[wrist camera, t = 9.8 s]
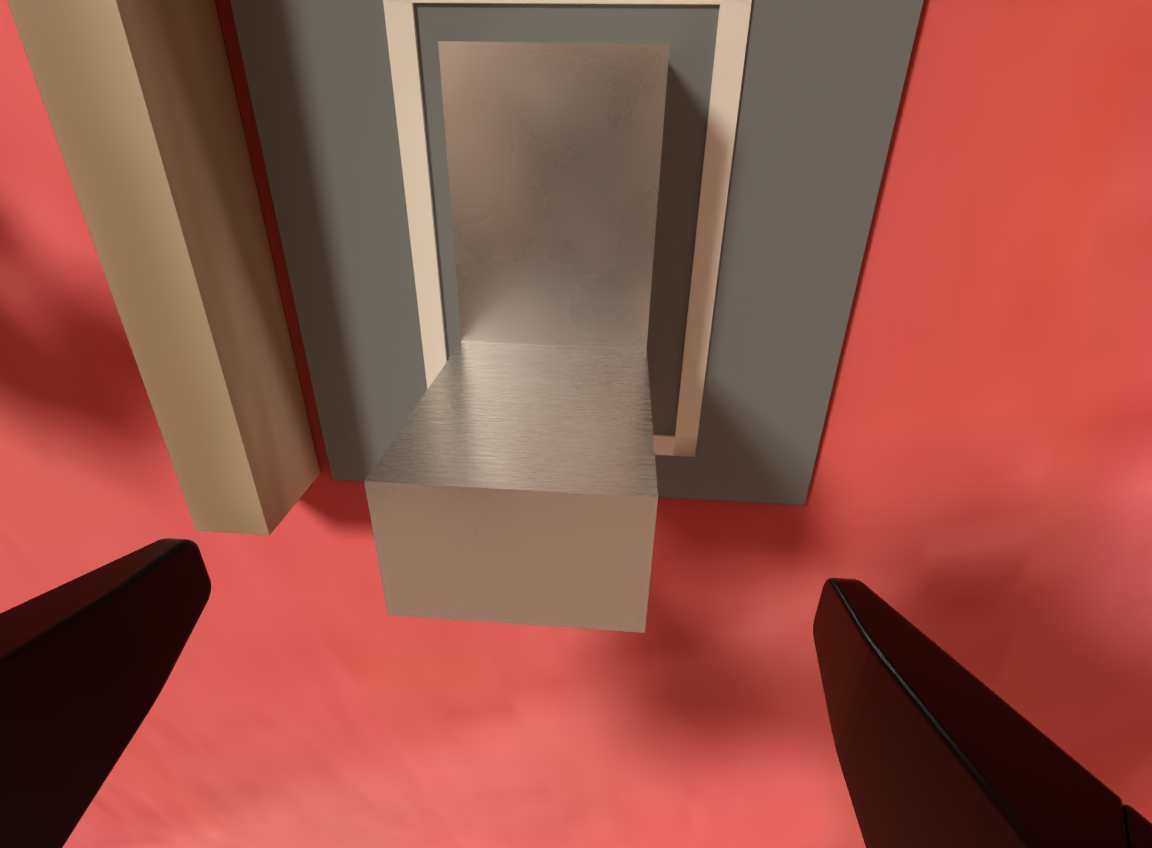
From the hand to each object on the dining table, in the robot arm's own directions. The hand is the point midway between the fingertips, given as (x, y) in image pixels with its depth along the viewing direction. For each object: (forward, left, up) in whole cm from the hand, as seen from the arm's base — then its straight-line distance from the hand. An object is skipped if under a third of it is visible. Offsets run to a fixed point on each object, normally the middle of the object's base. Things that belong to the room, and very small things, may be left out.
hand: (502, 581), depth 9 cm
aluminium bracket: (0, -3, -8) cm, 9 cm away
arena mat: (0, -3, -8) cm, 9 cm away
